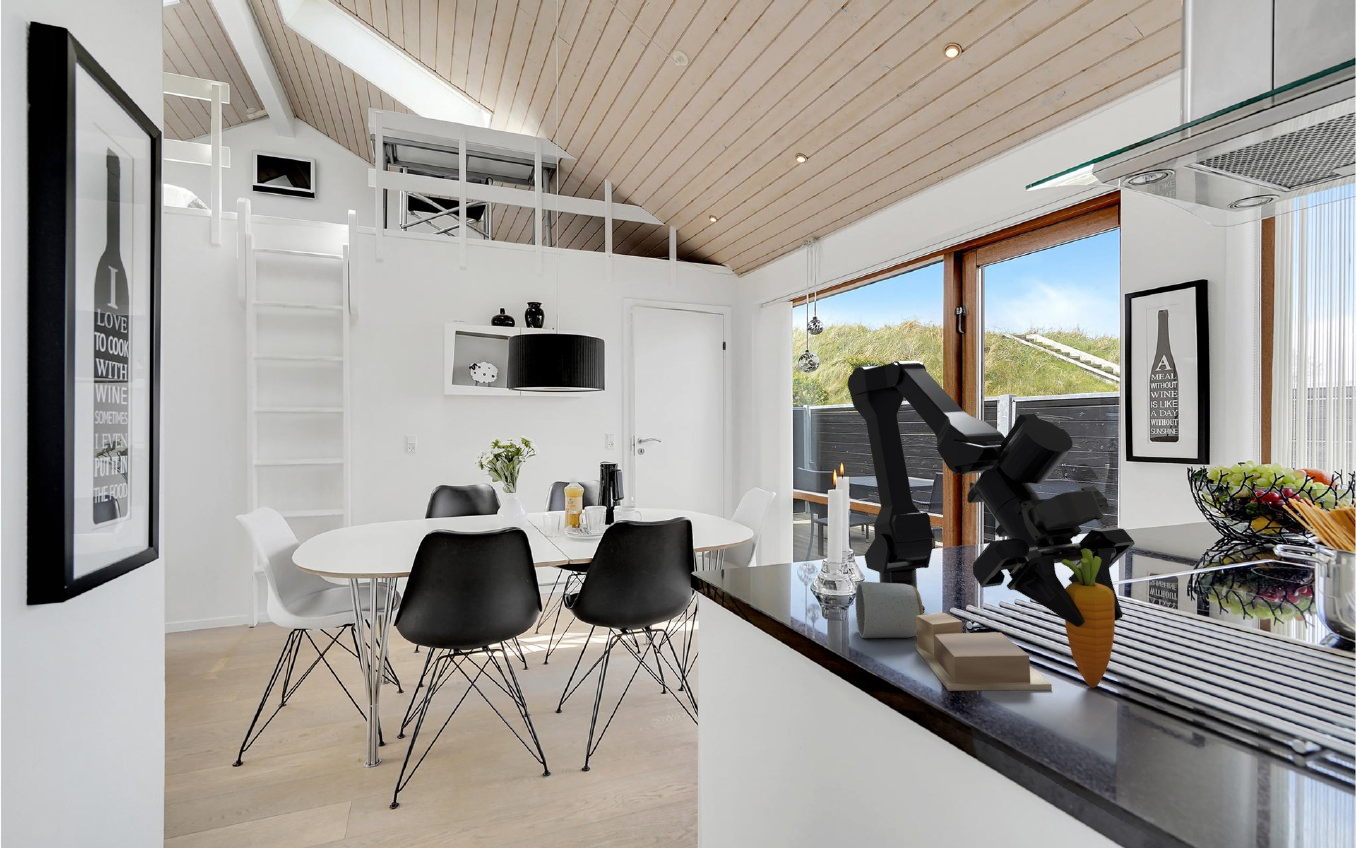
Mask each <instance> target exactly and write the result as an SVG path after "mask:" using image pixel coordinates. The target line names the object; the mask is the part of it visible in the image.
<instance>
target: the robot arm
mask: <svg viewBox="0 0 1356 848" xmlns="http://www.w3.org/2000/svg"><path fill="white" fill-rule="evenodd" d="M847 389H848V392H849V394H850V398H851V401H852V405H853V407H854V409H855V410H856V411H857V412H858V414H859V415H860V416H861V417H862V418H863V419H864V421H865V422H866V428H867V434H868V440H869V446H870V452H871V457H872V463H873V469H874V475H875V481H876V486H877V490H878V491H877V493H878V497H879V502H880V509H879V511H878V514H877V516H876V519H875V522H874V525H873V530H874V531H873V532H874V539H873V541H872V542H871V544H870V546H869V547H868V549H867V550H866V552H865V554H864V560H865V566H866V568H867V569H868V570H871V571H874V572H878V574H879V575H878V577H879V583H899V584H907V585H911V586H914V587H915V588H916V589H917V590H918V582H917V581H918V577H917V570H918V569H929V567H930V561H931V558H932V557H931V556H932V551H933V549H934V539H935V535H934V533H933V531H932V530H933V529H932V527H931V526H932V525H931V518H930V515H929V513H928V512H927V511H924V512H923V511H922V512H921V510H920V509H919V508H918V507H917V506H916V505H915V504H914V501H913V496H912V489H911V485H910V480H909V474H908V469H907V468H908V467H907V463H906V457H905V452H904V446H903V442H902V436H901V430H900V425H899V420H898V414H899V411H900V409H901V406H902V404H903V402H904V399H905V400H906V401H907V403H908V404H909V405H910V406H911V407H912V408H913V410H914V411H915V412H916V413H917V414H918V415H919V417H921V419H922V420H923V421H924V423H925V424H926V425H927V426H928V428H929V429H930V430H931V431H932V432H933V433H934V435H935V437H936V449H937V452H938V453H939V455H940V457H941V459H942V460H943V462H944V464H945V466H947V468H948V470H949V471H951V472H952V473H954V474H955V475H969V474H971V475H972V474H980V475H979V477H978V479H977V480H976V481H971V482H969V490H968V493H967V495H966V496H967V497H966V501H967V503H969V504H974V503H984V505H985V506H986V507H987V510H989V512H990V514H991V515H992V516H993V518H994V519H995V521H996V522H997V524H998V526H997V527H996V528H995V530H994V532H995V533H996V535H997V536H998V538H1004V537H1007V539H998V540H991V541H990V542H989V543H988V544H987V546H986V547H985V548H984V549H983V551H982V552H981V553H980V554H979V556H978V557H977V558H976V559H975V560H974V561H973V563H972V574H973V576H974V577H975V580H977V583H978V584H979V586H980V587H981V588H989V587H997V586H998V587H999V586H1001V585H1002V584H1003V583H1004V582H1005V581H1004V580H1005V576H1006V575H1005V574H1004V573H1003V571H1005V570H1007V571H1008V573H1009V577H1010V578H1011V580H1010V581H1009V582H1008V583H1007V585H1006V588H1007V589H1008V590H1009V591H1016V592H1018V593H1020V594H1022V595H1024V596H1025V597H1027V598H1029V599H1031V600H1032V601H1034V602H1036V603H1038V604H1040V605H1041V606H1043V607H1045V608H1046V609H1047V610H1049V611H1051V612H1053V613H1054V614H1056V615H1057V616H1059V617H1061V618H1062V619H1064V621H1065V620H1067V621H1068V622H1070V623H1071V624H1073V625H1075V626H1076V627H1080V626H1082V625H1083V624H1084V623H1085V621H1084V619H1083V617H1082V615H1081V613H1080V611H1079V609H1078V608H1077V606H1076V605H1075V603H1074V602H1073V600H1072V599H1071V597H1070V596H1069V594H1068V593H1067V591H1066V590H1065V588H1066V587H1065V586H1064V585H1063V583H1062V582H1061V581H1060V579H1059V577H1058V576H1057V574H1056V567H1055V564H1059V563H1061V564H1062V560H1064V559H1066V560H1069V561H1071V562H1072V563H1074V564H1075V565H1076V566H1077V568H1078V567H1079V566H1081V559H1083V555H1082V551H1081V550H1083V549H1089V550H1090V551H1091V552H1092V556H1093V560H1094V558H1095V556H1097V557H1099V558H1100V559H1101V565H1100V568H1099V571H1098V573H1097V575H1096V578H1095V583H1098V584H1101V585H1104V586H1107V587H1109V588H1110V589H1111V590H1112V591H1113V593H1114V598H1115V622H1116V621H1117V622H1118V621H1119V620H1121V619H1122V618H1123V617H1124V614H1123V611H1122V608H1121V606H1120V602H1119V599H1118V596H1117V593H1116V591H1115V587H1114V584H1113V580H1112V576H1111V572H1110V568H1111V567H1112V566H1113V565H1114V564H1115V563H1117V561H1118V560H1120V558H1122V557H1123V556H1124V555H1125V554H1126V553H1127V552H1128V551H1130V549H1132V547H1133V546H1134V545H1135V541H1134V539H1133V538H1132V537H1131V536H1130V534H1129V533H1128V532H1127V531H1126V530H1125V528H1121V527H1114V526H1112V527H1103V528H1096V529H1095V528H1094V529H1091V530H1090V531H1089V532H1088V533H1087V534H1086V535H1084V536H1083V538H1082V539H1081V540H1080V541H1079V542H1075V543H1073V541H1072V539H1073V538H1076V537H1078V535H1079V534H1081V532H1083V530H1082V528H1081V527H1080V526H1082V525H1084V524H1085V525H1086V524H1087V523H1089V522H1091V521H1100V520H1102V519H1104V518H1105V516H1104V514H1103V513H1107V512H1108V510H1109V504H1108V499H1107V497H1105V496H1104V494H1103V493H1102V492H1101V491H1099V489H1098V488H1096V486H1094V485H1093V486H1092V485H1090V486H1083V487H1080V489H1078V490H1074V491H1068V492H1062V493H1060V494H1056V495H1055V496H1052V497H1049V498H1041V497H1040V495H1039V494H1038V493H1037V492H1036V490H1035V489H1034V488H1033V486H1031V484H1041V483H1043V482H1044V481H1046V480H1047V479H1048V477H1049V476H1050V475H1051V474H1052V472H1054V470H1055V469H1056V468H1057V466H1059V464H1060V463H1061V461H1062V460H1063V459H1064V458H1065V457H1066V455H1067V454H1068V453H1069V452H1070V450H1072V448H1073V444H1074V443H1073V440H1072V437H1071V436H1070V435H1069V433H1068V432H1067V430H1065V429H1063V428H1060V427H1059V426H1057V425H1055V424H1053V423H1052V422H1050V421H1047V420H1044V419H1041V418H1039V417H1038V415H1037V414H1036V413H1033V412H1032V413H1019V414H1018V417H1017V418H1016V419H1015V421H1014V424H1013V426H1012V428H1010V431H1008V433H1007V434H1006V436H1004V434H1003V433H1001V432H1000V431H999V430H998V429H996V428H995V427H994V426H993V425H990V424H989V423H988V422H986V421H984V420H982V419H979V418H976V417H974V416H971V415H970V414H968V413H967V412H965V411H964V410H963V409H962V408H961V406H959V404H958V403H957V402H956V401H955V400H954V399H953V398H952V397H951V396H950V395H949V393H947V392H946V391H945V390H944V388H942V387H941V385H940V384H939V383H938V382H937V381H936V380H935V379H934V378H933V377H932V376H931V375H930V374H929V372H927V368H926V365H925V364H924V363H923V362H920V361H918V360H895V361H893V362H890V363H888V364H883V365H877V366H875V365H871V366H870V365H869V366H866V365H865V366H858V367H855V369H853V371H852V373H851V374H849V376H848V379H847ZM1068 580H1069V582H1070V583H1073V582H1080V581H1079V579H1078V577H1077V576H1076V574H1075V573H1074V572H1073V573H1072V574H1071V575H1070V576H1069V577H1068ZM922 607H923V612H924V611H925V610H926V608H925V606H924V604H922Z"/></svg>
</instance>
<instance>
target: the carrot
mask: <svg viewBox="0 0 1356 848" xmlns="http://www.w3.org/2000/svg"><path fill="white" fill-rule="evenodd" d="M1081 551H1082V555H1083V559H1081V566H1079V567H1078V568H1077V566H1076V565H1075V564H1074V563H1072V562H1071V561H1069V560H1066V559H1064V560H1062V563H1061V564H1062V565H1063V566H1066V567H1067V568H1069V570H1071V571H1072V573H1073V574H1074V573H1075V574H1076V576H1077V577H1078V579H1079V581H1080V582H1073V583H1072V582H1070V583H1069V584H1068V585H1067V586H1066V587H1064V588H1065V590H1066V591H1067V593H1068V594H1069V596H1070V597H1071V599H1072V600H1073V602H1074V603H1075V605H1076V606H1077V608H1078V609H1079V611H1080V613H1081V615H1082V617H1083V619H1084V621H1085V623H1084V624H1083V625H1082V626H1080V627H1076V626H1075V625H1073V624H1071V623H1070V622H1068V621H1067V620H1065V619H1064V623H1065V632H1066V636H1067V640H1068V644H1069V648H1070V652H1071V655H1072V658H1073V661H1074V663H1075V666H1076V668H1077V669H1078V671H1079V673H1080V675H1081V677H1082V678H1083V680H1084V682H1085V683H1086V684H1087V685H1088V686H1089V687H1090V688H1093V689H1095V688H1096V687H1097V686H1099V684H1100V682H1101V681H1102V679H1103V677H1104V674H1105V673H1106V670H1107V668H1108V666H1109V663H1110V660H1111V655H1112V651H1113V644H1114V639H1115V629H1116V628H1115V627H1116V626H1115V623H1116V621H1115V598H1114V593H1113V591H1112V590H1111V589H1110V588H1109V587H1107V586H1104V585H1101V584H1098V583H1095V578H1096V575H1097V573H1098V571H1099V568H1100V565H1101V559H1100V558H1099V557H1097V556H1095V558H1094V560H1093V556H1092V552H1091V551H1090V550H1089V549H1083V550H1081Z"/></svg>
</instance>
